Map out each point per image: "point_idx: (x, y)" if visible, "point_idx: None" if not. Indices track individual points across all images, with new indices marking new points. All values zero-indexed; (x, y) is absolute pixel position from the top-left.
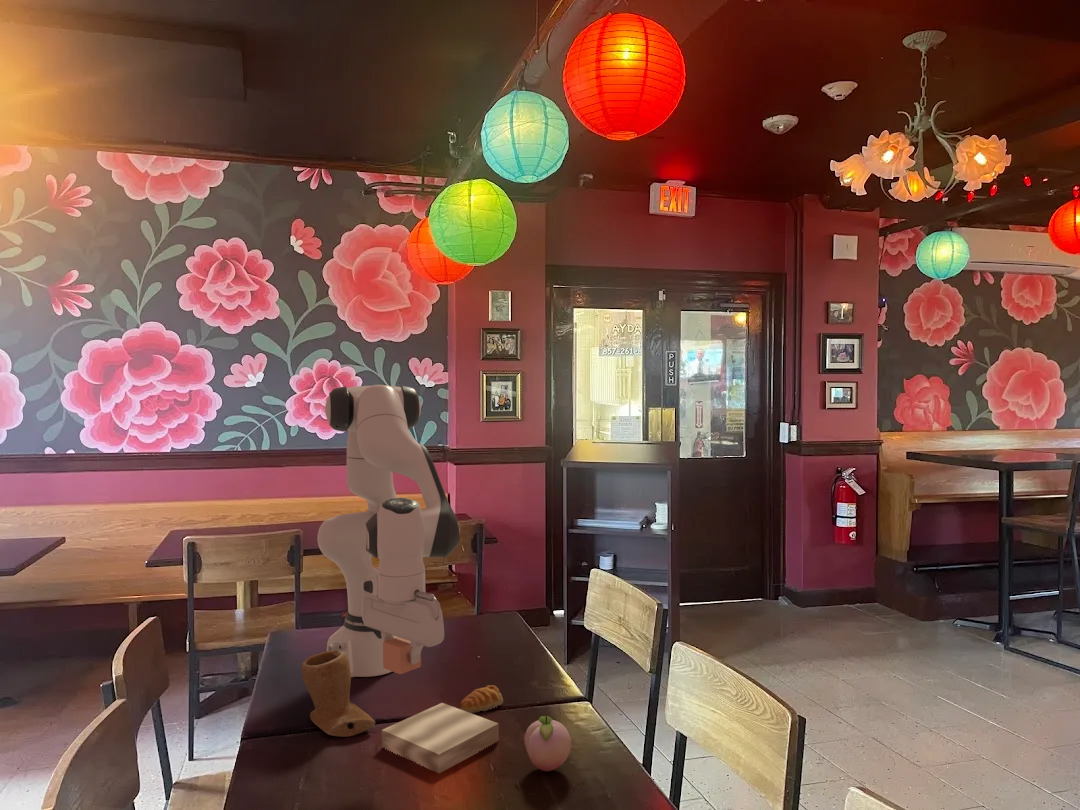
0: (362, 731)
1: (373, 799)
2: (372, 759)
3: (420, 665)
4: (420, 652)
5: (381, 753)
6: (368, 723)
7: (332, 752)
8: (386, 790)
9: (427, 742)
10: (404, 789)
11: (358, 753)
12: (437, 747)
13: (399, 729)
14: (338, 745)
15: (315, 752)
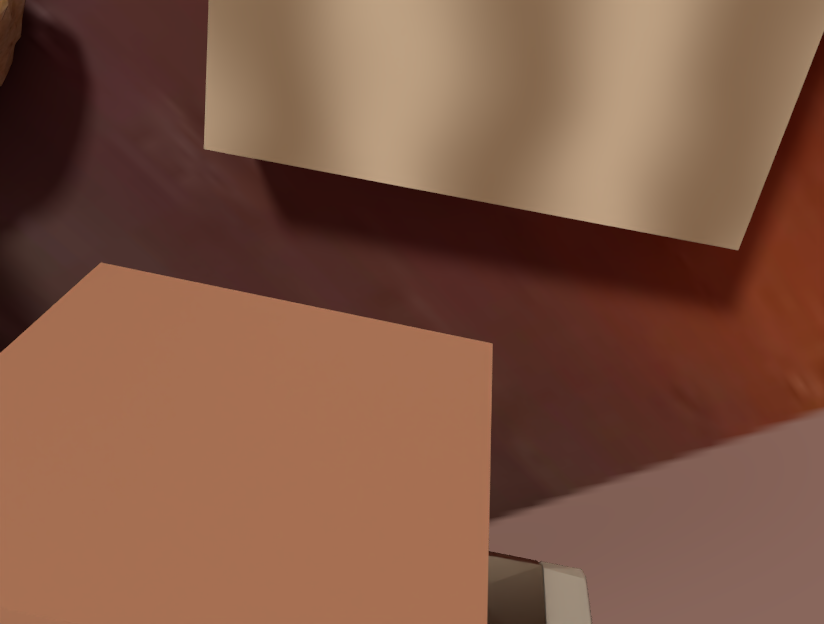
0: (12, 52)
1: (546, 490)
2: (294, 243)
3: (488, 362)
4: (487, 498)
5: (285, 173)
6: (5, 33)
7: (74, 273)
8: (552, 424)
9: (583, 155)
10: (623, 390)
11: (185, 226)
12: (685, 184)
13: (296, 90)
14: (32, 206)
15: (13, 306)
